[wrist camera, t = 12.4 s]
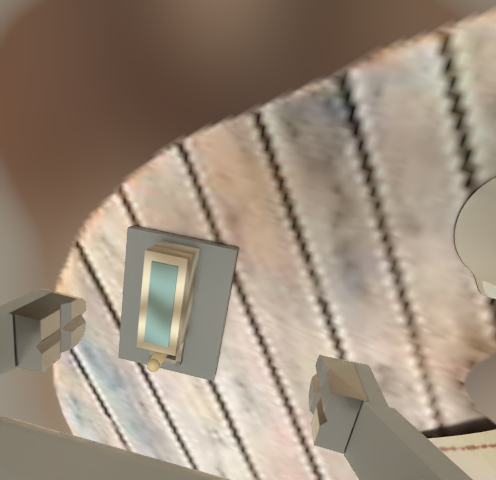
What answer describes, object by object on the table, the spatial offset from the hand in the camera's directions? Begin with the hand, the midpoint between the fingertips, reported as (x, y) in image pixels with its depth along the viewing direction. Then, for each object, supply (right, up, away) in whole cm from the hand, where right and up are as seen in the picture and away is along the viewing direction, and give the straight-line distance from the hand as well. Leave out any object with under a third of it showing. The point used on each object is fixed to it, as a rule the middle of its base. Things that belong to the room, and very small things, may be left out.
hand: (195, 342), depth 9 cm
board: (-9, -7, +32) cm, 34 cm away
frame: (-9, -6, +31) cm, 33 cm away
